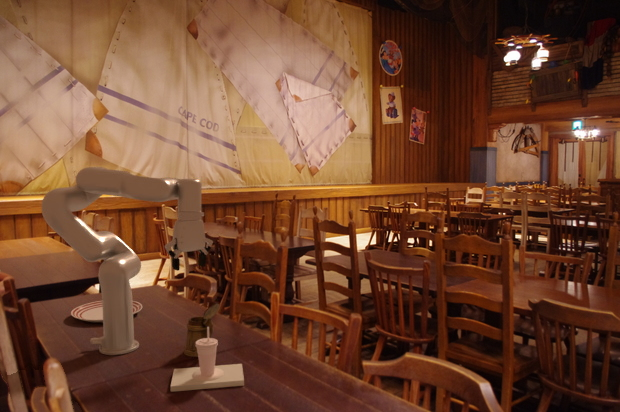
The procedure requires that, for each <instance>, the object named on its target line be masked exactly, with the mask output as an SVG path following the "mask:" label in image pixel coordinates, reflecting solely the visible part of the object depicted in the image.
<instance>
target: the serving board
mask: <svg viewBox="0 0 620 412" xmlns="http://www.w3.org/2000/svg"><path fill="white" fill-rule="evenodd" d="M241 386H243V387H244V386H245V377H244V369H243V363H233V364H221V365H220V364H219V365H215V369H214V375H212V376H209V377H203V376H201V371H200V366H195V367H183V368H174V369H173V373H172V378H171V383H170V392H184V391H193V390H194V391H195V390H205V389H207V390H208V389H219V388H228V387H229V388H230V387H241Z"/></svg>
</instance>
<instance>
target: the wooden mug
mask: <svg viewBox="0 0 620 412" xmlns="http://www.w3.org/2000/svg"><path fill="white" fill-rule="evenodd" d="M219 310H220V303H217V302H215V303H213V304H212V305H211V306H209V307H208V308H207V309H206V310H205V311H204V313H203V314H202V315H203V316H193V317H189V318H188V322H187V324H186V329H187V332H186V340H185V347H184V352H183V353H184V356H187V357H191V358H192V357H193V358H197V357H198V353H197V347H196V346H195V345H196V341H197V340H199V339H203V338H207V327H209V338H212V336H213V333H214V323H213V320H212V319H213V317H214V316H216V314H217V313H218V311H219Z"/></svg>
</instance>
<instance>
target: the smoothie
mask: <svg viewBox="0 0 620 412" xmlns="http://www.w3.org/2000/svg"><path fill="white" fill-rule="evenodd" d="M218 345H219V342H218V339H216V338H213V337H211V338H209V327H207V338H203V339H199V340H197V341H196V345H195V346H196V347H197V353H198V364H199V367H200V371H201V376H203V377H209V376H212V375H214V369H215V366H216V358H217V347H218Z"/></svg>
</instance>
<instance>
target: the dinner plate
mask: <svg viewBox="0 0 620 412" xmlns="http://www.w3.org/2000/svg"><path fill="white" fill-rule="evenodd" d="M132 301H133V315H135V314H137V313H139V312H140V311H141V310H142V309H143V304H142V303H141V302H139V301H135V300H132ZM70 315H71V316H72V317H73V318H75V319H78V320H81V321H85V322H90V323H103V307H102V300H97V301H92V302H89V303H88V302H87V303H83V304H82V305H79V306H77V307H75V308H73V309H72V310H71V312H70Z"/></svg>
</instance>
